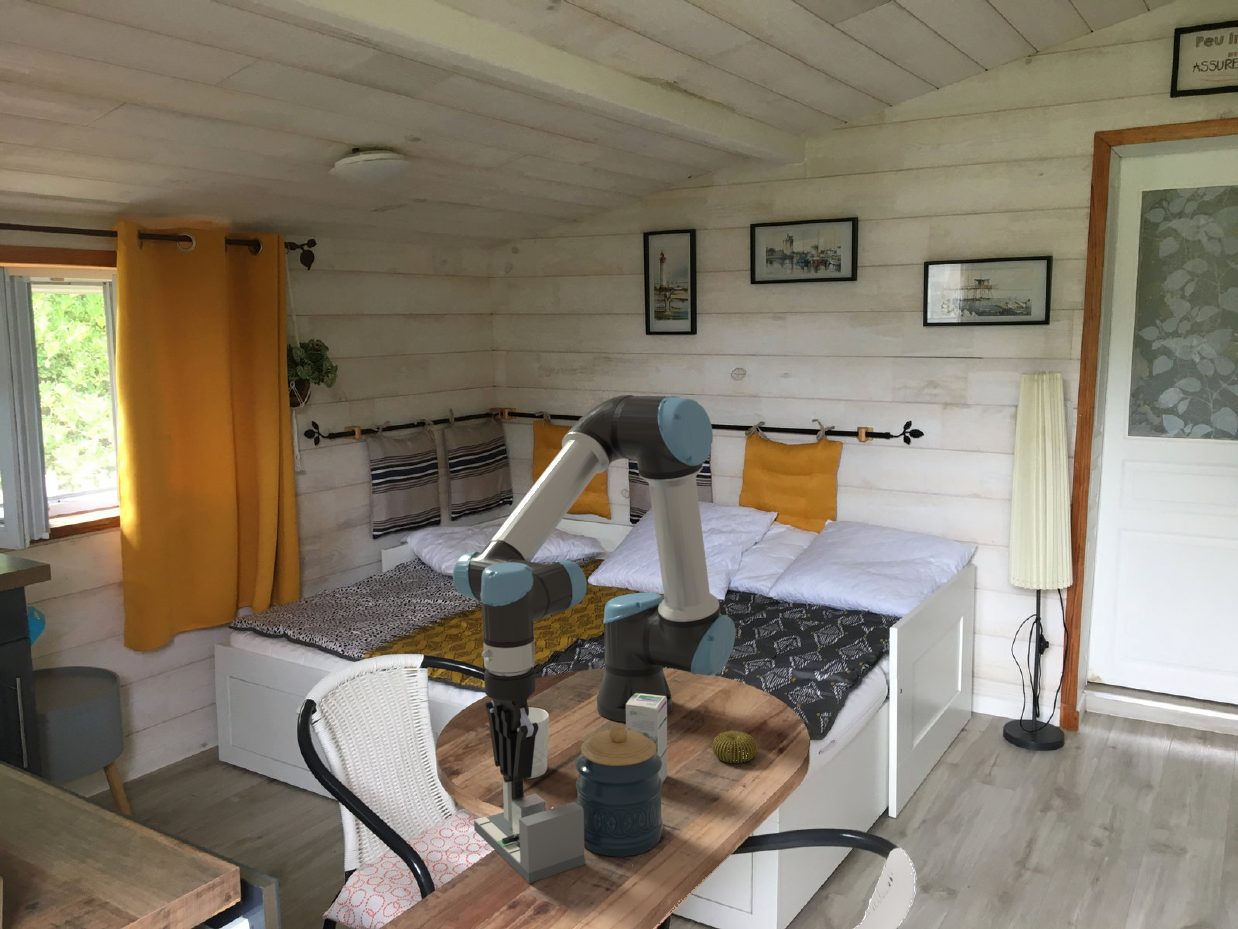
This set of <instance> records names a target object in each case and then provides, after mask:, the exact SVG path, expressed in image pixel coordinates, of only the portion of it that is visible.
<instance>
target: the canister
mask: <svg viewBox="0 0 1238 929" xmlns="http://www.w3.org/2000/svg"><path fill="white" fill-rule="evenodd" d="M580 752H581V754H579V756H578V757H577V759H576V760H575V769H576V770H577V772H578V774H579V775H578V778H577V780H576V782H575V788H576V790H577V791H576V792H577V793H576V794H577V795H576V796H577V801H576V802H577V804H578V805H580V806H581V807H582V808H584V848H585V849H587V850H589V851H590V852H592V853H596V854H598V855H602V856H606V857H607V856H608V857H631V856H636V855H640V854H643V853H646V852H647V851H648V852H649V851H650V850H651V849H653V848H655V846H656V845H658V843H659V842H660V841H661V837H662V832H663V828H664V827H663V822H664V820H663V817H662V788H663V783H662V780H661V778H660V777H659V771H660V769H661V767H662V760H661V758H660V757H659V755H658V754H657V753H655V752H656V745H655V743H654V742H653V741H652V740H651V739H649V738H647V737H645V736H644V735H643V734H641V733H639V732H636V731H633V730H627V729H626V726H624V725H622V724H615V725H612V727H611V728H610V729H606V730H603V731H600V732H598V733H597V732H596V734H594V735H593V736H591V737H590V738H588V739H586V740H585V741H584V742H583V743H582V744H581V746H580Z"/></svg>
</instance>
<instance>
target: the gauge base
mask: <svg viewBox="0 0 1238 929" xmlns="http://www.w3.org/2000/svg"><path fill="white" fill-rule="evenodd" d="M473 822H474V823H473V826H474V827H473V828H474V829H473V830H474V831H475V833H477V834H478V835H479V836H480V837H481V838H482V840H484V841H485V842H486V843H487V844H488V845H489V846H490V847H491V848H492V849H493V850H494V851H495V852H496V853H497V854H498V855H499V856H500V857H502V859H503V860H504V861H505V862H507V864H508V865H510V867H512V868H513V869H514V870H515V871H516V873H518V874H519V876H520V877H521V878H523V879H524V881H526V882H527V884H531V883H534V882H538V881H541V880H542V879H546V878H549V877H552V876H554V875H557V874H560V873H564V872H565V871H568V870H572V869H574V868H578V867H580V866H583V865H585V864H586V858H585V847H584V808H582V807H581V806H580V805H578V802H577V801H573V802H569V803H566V804H563V805H559V806H556V807H553V808H550V809H547V810H546V811H543V812H539V813H536V814H533V815H530V816H526V817H523V818H520V819H519V833H520V843H519V842H518V841H514V842H511V843H508V844H505V845H504V844H503V843H502V839H503V838H506V837H509V836H512V835H513V827H512V820H511V821H508V820H506V819H505V818H504V811H503V812H500V813H496V814H493V815H489V816H483V817H479V818H475V819H474V821H473Z"/></svg>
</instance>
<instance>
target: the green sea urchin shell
mask: <svg viewBox="0 0 1238 929" xmlns="http://www.w3.org/2000/svg"><path fill="white" fill-rule="evenodd" d="M711 750H712V752H713V754H714V756H715V757H716V758H717V759H719V760H720V761H722V762H724V763H729V764H744V763H747V762H748V761H751V760H752V759H753V758H755V756H756V754H757V751H758V744H757V741H756V739H755V738H754V737H753V736H752V735H750V734H749V733H746V732H743V731H741V730H739V731H738V730H727V731H723V732H721V733H718V734H717V735H716V736H715V737H714V738H713V740H712V744H711ZM728 750H729V751H728ZM743 750H744V751H743ZM739 751H740V752H739ZM743 752H744V755H743ZM747 753H748V754H747ZM746 755H747V757H746ZM743 756H744V759H743ZM746 758H747V759H746ZM733 760H734V761H733ZM736 760H737V761H736ZM743 762H744V763H743Z"/></svg>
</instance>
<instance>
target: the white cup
mask: <svg viewBox="0 0 1238 929" xmlns="http://www.w3.org/2000/svg"><path fill="white" fill-rule="evenodd" d="M528 708H529V715H528V718H529V720H530V722H531V724H532V723H537V724H538V731H537V734H536V736H535V745H534V755H533V765H532V775H531V778H527V779H535V778H538V777H541V776H543V775H544V774H545V773H546V772H547V770H548V753H549V752H548V751H549V728H550V727H549V725H550V724H549V723H550V722H549V718H550V714H549V712H547V711H546V710H545V709H542V708H538V707H529V706H528ZM527 779H526V780H527Z"/></svg>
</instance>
